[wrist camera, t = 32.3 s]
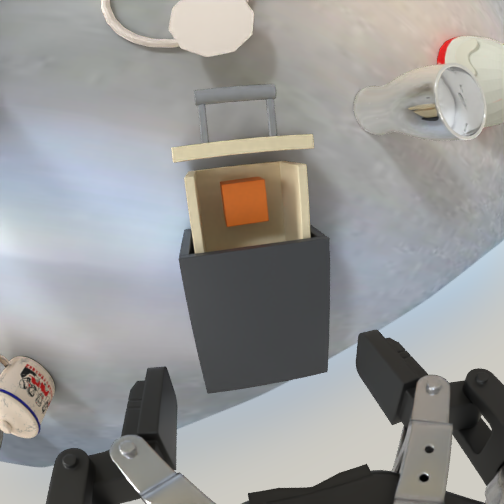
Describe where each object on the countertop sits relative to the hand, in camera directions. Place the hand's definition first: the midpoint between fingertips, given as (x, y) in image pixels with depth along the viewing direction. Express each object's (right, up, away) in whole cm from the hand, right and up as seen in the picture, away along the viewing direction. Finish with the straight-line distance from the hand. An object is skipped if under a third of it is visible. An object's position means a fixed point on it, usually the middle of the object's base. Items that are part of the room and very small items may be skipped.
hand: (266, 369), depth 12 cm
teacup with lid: (-35, -13, +25) cm, 44 cm away
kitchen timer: (+31, +30, +21) cm, 48 cm away
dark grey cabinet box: (-1, +1, +25) cm, 25 cm away
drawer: (-2, +12, +21) cm, 24 cm away
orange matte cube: (-2, +10, +20) cm, 22 cm away
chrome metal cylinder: (+14, +21, +21) cm, 33 cm away
